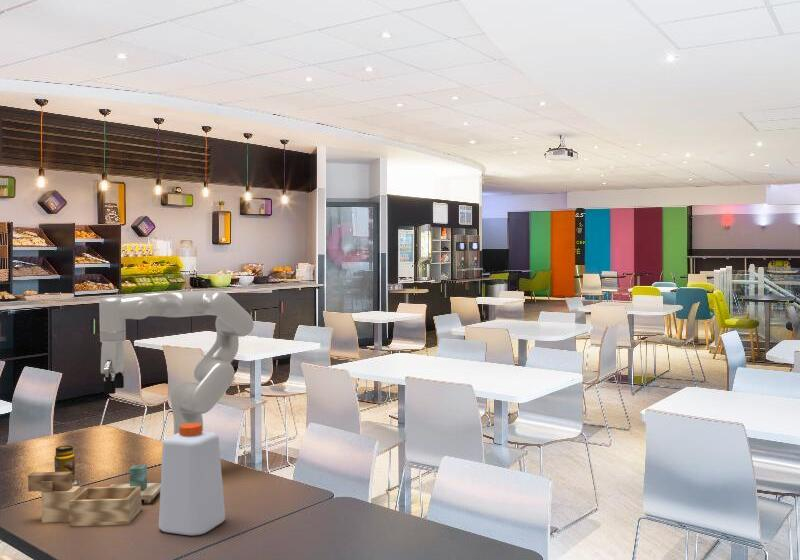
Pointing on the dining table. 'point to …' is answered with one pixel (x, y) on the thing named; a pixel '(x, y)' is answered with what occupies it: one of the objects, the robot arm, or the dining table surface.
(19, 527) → the dining table surface
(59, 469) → the condiment
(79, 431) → the dining table surface
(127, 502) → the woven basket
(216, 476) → the plastic bottle
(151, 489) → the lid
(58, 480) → the brown wooden bar
